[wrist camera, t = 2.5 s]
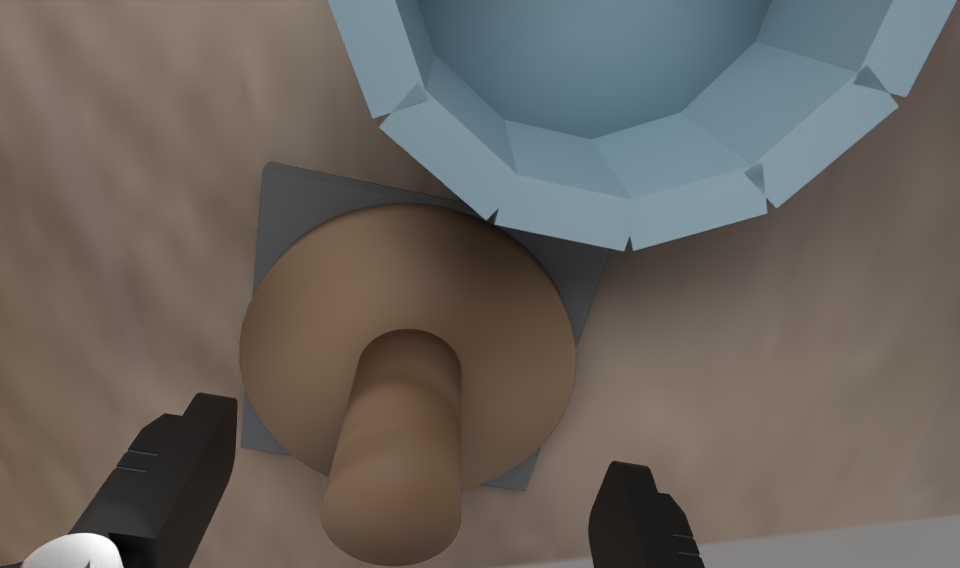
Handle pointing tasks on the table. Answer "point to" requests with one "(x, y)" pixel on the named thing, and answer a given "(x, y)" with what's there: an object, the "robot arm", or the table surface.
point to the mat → (319, 197)
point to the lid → (406, 368)
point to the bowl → (632, 101)
